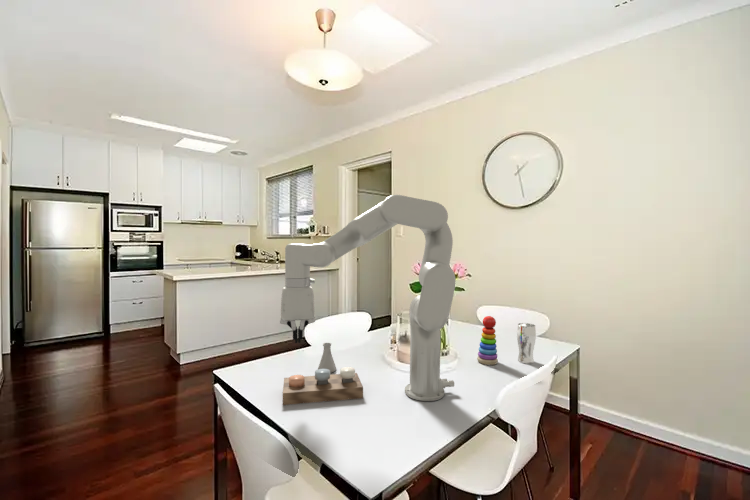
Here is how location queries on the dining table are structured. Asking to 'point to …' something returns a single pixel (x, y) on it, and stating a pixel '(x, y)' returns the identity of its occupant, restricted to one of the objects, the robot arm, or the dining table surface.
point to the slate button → (322, 376)
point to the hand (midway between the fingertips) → (297, 341)
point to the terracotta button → (296, 380)
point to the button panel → (322, 390)
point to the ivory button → (347, 374)
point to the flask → (327, 359)
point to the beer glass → (526, 342)
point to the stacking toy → (488, 343)
